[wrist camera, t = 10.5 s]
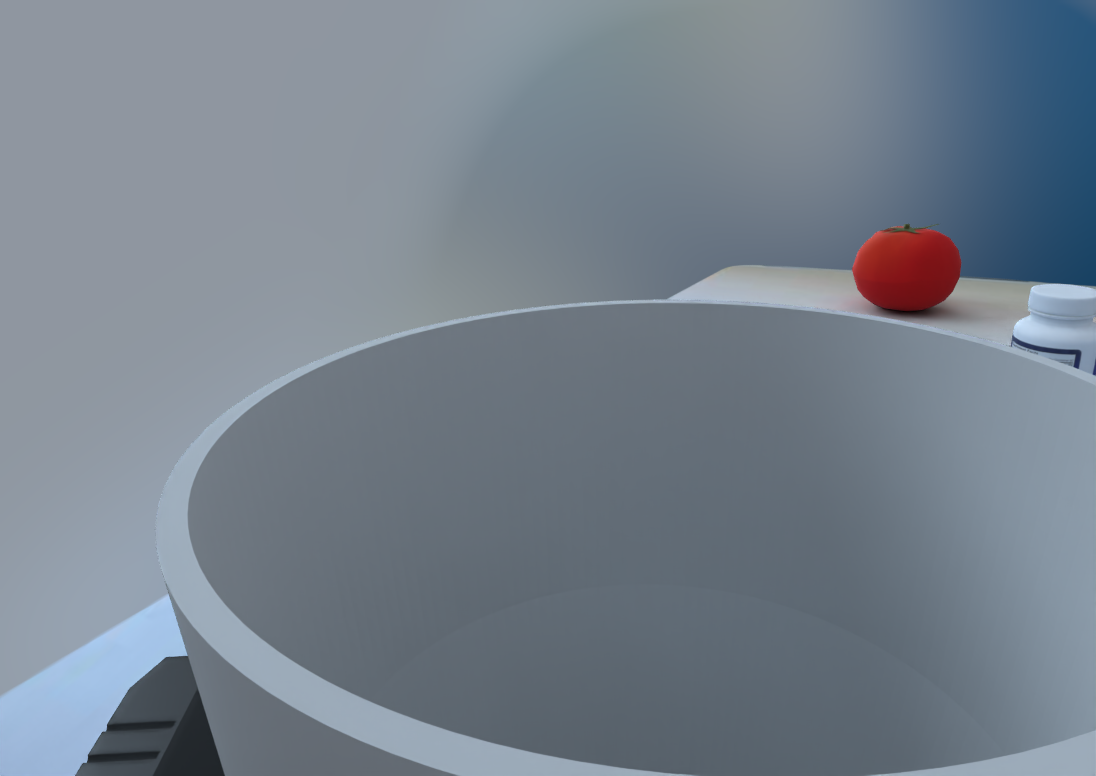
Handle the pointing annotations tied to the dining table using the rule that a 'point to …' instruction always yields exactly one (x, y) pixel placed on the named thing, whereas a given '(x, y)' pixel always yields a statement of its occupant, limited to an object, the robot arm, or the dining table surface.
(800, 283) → the dining table surface
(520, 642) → the cup
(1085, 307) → the pill bottle
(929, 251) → the tomato
